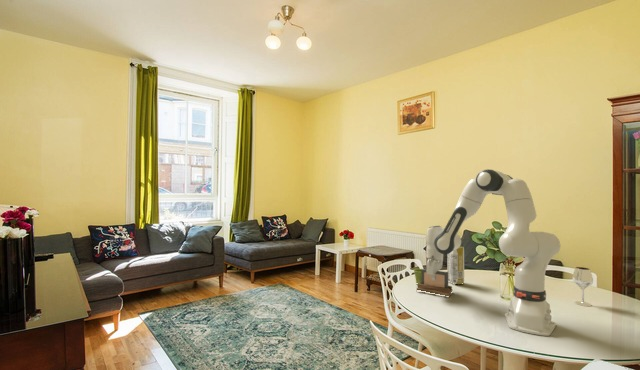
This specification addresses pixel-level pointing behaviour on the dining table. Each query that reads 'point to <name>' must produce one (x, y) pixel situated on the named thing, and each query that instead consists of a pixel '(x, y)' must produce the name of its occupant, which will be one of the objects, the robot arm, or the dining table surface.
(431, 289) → the picture ledge
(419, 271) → the plant pot
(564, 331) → the dining table surface
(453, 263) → the juice carton
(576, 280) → the wineglass
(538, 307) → the robot arm
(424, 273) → the picture frame
